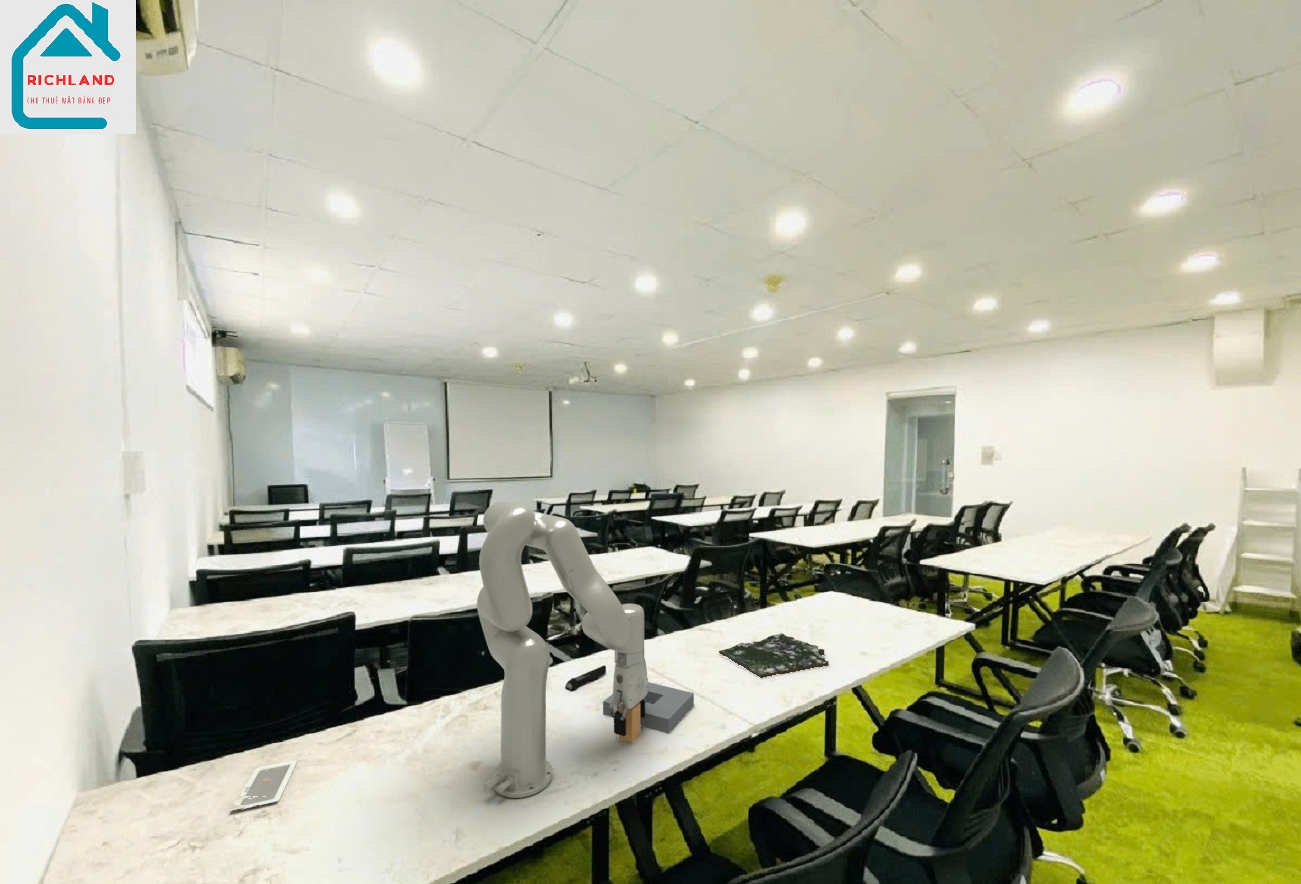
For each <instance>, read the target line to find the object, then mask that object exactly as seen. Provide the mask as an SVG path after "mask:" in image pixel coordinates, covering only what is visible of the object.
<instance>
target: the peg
mask: <svg viewBox="0 0 1301 884" xmlns="http://www.w3.org/2000/svg"><path fill="white" fill-rule="evenodd" d="M622 705H623V703H622ZM622 709H623V708H620V707H619V712H620V713H622ZM624 718H625V719H626V735H625V736H621V735H618V740H620V741H625V742H627V743H631V744H633V743H634V742H635V741H636V740H637V739H638V738H639V737H641V725H640V703H638V704H636V705H635V706H634V707H633V708H632V709H627V711H626V714H625V717H624Z"/></svg>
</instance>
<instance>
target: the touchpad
mask: <svg viewBox="0 0 1301 884" xmlns="http://www.w3.org/2000/svg"><path fill="white" fill-rule="evenodd" d="M298 761H299V760H298V759H294V760H287V761H284V762H279V763H275V764H274V763H273V764H269V765H264V766H260V767H256V768H255V769H254V771H253V772H252V774H251V776H250V777H249V779H248V780H247V783H246V784H245V786H244V788H243V789H242V791H241V793H240V794H239V796H251V797H248V798H252V799H248V798H245V799H244V797H243V799H242V800H241V803H238V801H237V800H236V801H237V802H236V801H235V803H234V804H233V806H234V805H249V806H247V807H245V808H243V809H242V810H245V809H249V808H253V805H259V806H263V805H267V804H270V803H271V804H272V803H276V802H279V801H280V799H281V798H282V797H281V796H282V795H283V794H284V793H283V792H284V790H285V788H286V787H287V783H288V782H289V780H290V778H291V775H292V773H293V772H294V769H295V767H296V765H297V763H298ZM263 768H264V769H263ZM265 768H268V769H265ZM266 770H267V771H266ZM245 787H246V788H245ZM253 796H258V797H255V798H253ZM263 796H266V797H263ZM239 801H240V800H239Z"/></svg>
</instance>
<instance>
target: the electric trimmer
mask: <svg viewBox="0 0 1301 884" xmlns="http://www.w3.org/2000/svg"><path fill="white" fill-rule="evenodd" d="M606 673H607V667H606V665H602V666H599V667H597V668H595V669H592V670H590V671H587V672H586V673H583V674H581V675H579V676H576V677H572V678H570V679H569V680H568V681H567V682H566V684H565V687H564V688H565V690H566V691H569V692H575V691H576V689H577V688H579V687H581V686H583V685H585V684H587V683H589V682H595V681H596V680H598V679H599V678H600V677H602V676H603V675H605V674H606Z"/></svg>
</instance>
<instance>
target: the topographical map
mask: <svg viewBox="0 0 1301 884" xmlns="http://www.w3.org/2000/svg"><path fill="white" fill-rule="evenodd" d="M719 653H720V654H722V655H723V656H726V657H728V658H729V659H731V660H732V661H734V662H735V663H737V664H738V665H737V664H736V665H737V666H739V665H741V666H743V667H744V668H746V669H747V670H749V671H748V672H749V673H751V672H752V673H753V675H754V674H756V675H757V676H759V677H760V678H759V677H758V678H759V679H764V678H763V677H765V678H768V677H767V676H771V677H773V676H772V675H776V674H781V675H786V673H787V674H791V673H790V672H792V673H797V672H796V671H798V672H801V671H800V670H803V671H806V670H805V669H809V670H811V669H810V668H814V667H819V668H820V667H823V666H826V665H830V664H829V663H830V662H829V661H828V660H826V657H825V649H824V648H819V646H818V645H814V644H810V643H808V642H806V641H802V640H800V639H795V638H794V637H793V636H788V635H786V634H784V633H782V632H781V633H778V634H773V635H769V636H768V637H766V638H765V639H761V640H759V641H751V642H740V643H738V644H736V645H734V646H732V647H730V648H725V649H721V650H718V654H719ZM720 654H719V655H720ZM722 655H721V656H722ZM822 655H824V656H822ZM723 656H722V657H723ZM732 661H731V662H732ZM734 662H733V663H734ZM735 663H734V664H735ZM826 667H827V666H826ZM744 668H743V669H744ZM823 668H824V667H823ZM746 669H745V670H746ZM814 669H815V668H814ZM747 670H746V671H747ZM752 673H751V674H752ZM756 675H755V676H756ZM757 676H756V677H757ZM776 676H777V675H776Z"/></svg>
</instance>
